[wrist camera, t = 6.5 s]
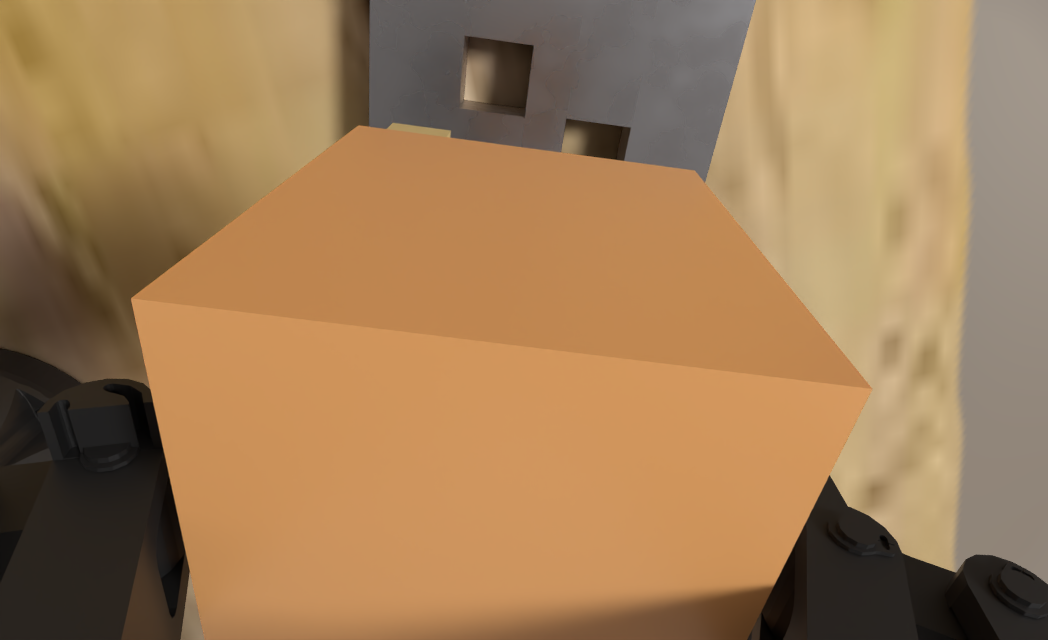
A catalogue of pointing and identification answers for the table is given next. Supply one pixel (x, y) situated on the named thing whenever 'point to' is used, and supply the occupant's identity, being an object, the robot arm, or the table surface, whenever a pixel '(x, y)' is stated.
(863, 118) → the table surface
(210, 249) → the cardboard-colored brick
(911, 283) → the table surface
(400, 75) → the socket plate
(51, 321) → the table surface
